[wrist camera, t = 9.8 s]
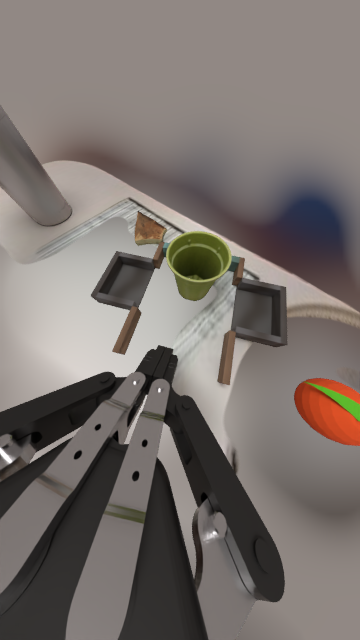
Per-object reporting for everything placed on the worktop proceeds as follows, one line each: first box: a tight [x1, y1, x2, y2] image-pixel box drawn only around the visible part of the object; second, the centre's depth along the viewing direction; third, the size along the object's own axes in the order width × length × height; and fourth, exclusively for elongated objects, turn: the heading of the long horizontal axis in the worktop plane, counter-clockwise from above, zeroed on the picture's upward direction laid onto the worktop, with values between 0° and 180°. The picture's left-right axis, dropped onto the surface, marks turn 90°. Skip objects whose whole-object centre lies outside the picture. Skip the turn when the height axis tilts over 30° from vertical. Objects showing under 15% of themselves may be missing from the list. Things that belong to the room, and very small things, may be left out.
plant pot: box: [166, 231, 232, 301], centre depth 23 cm, size 9×9×9 cm
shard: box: [135, 211, 167, 246], centre depth 32 cm, size 11×8×2 cm
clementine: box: [294, 378, 360, 446], centre depth 16 cm, size 8×7×7 cm
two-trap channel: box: [91, 242, 287, 385], centre depth 24 cm, size 34×24×2 cm
